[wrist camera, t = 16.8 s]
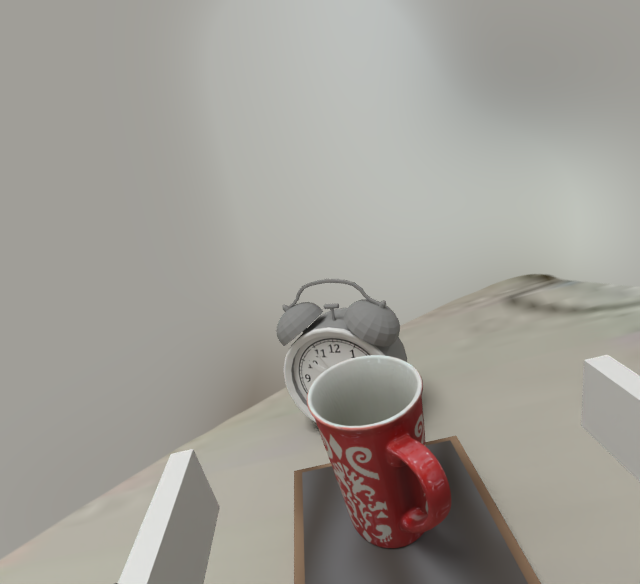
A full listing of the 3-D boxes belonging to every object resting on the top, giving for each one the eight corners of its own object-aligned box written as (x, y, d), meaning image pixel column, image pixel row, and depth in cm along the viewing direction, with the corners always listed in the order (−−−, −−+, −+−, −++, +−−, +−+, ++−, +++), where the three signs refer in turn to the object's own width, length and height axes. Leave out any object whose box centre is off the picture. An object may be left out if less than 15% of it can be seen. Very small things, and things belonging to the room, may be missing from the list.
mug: (324, 495, 36) (290, 381, 31) (401, 453, 39) (382, 342, 34) (397, 635, 25) (362, 491, 20) (499, 563, 27) (490, 420, 23)
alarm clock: (294, 436, 53) (252, 297, 45) (316, 397, 60) (282, 272, 53) (410, 450, 46) (384, 290, 39) (419, 404, 54) (398, 262, 46)
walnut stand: (460, 472, 42) (455, 431, 40) (570, 685, 25) (573, 634, 23) (305, 505, 42) (293, 467, 40) (312, 738, 25) (291, 693, 23)
